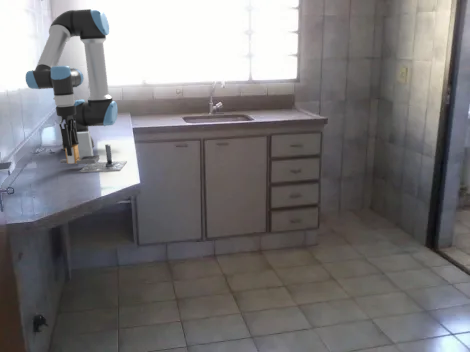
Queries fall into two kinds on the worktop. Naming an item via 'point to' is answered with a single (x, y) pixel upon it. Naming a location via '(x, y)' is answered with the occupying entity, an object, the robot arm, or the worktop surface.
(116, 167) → the post
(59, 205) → the worktop surface
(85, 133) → the skincare box
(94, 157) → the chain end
